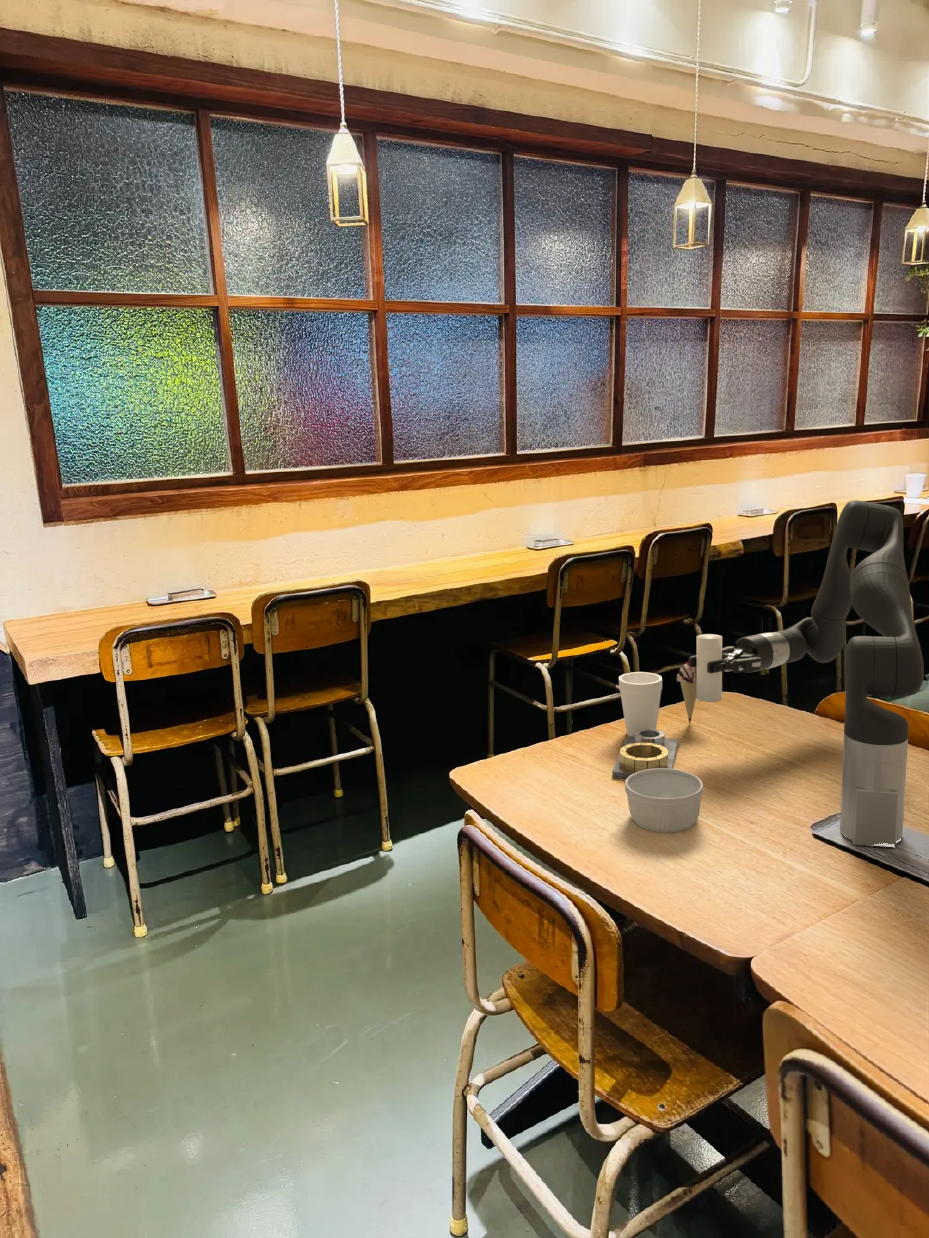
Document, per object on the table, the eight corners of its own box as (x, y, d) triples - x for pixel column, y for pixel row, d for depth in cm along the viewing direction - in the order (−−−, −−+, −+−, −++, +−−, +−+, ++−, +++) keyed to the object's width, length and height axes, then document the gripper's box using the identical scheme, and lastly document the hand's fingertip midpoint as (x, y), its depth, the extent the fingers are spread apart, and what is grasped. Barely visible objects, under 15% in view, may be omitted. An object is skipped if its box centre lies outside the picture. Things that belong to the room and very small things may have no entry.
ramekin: (618, 831, 144) (617, 794, 143) (633, 799, 156) (632, 764, 155) (698, 841, 139) (698, 802, 138) (707, 807, 151) (707, 771, 150)
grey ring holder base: (669, 781, 163) (669, 763, 162) (612, 777, 166) (612, 759, 165) (678, 744, 181) (678, 727, 180) (626, 741, 185) (626, 725, 184)
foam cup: (631, 724, 195) (630, 670, 192) (669, 730, 189) (668, 674, 187) (612, 737, 187) (611, 681, 184) (651, 744, 182) (651, 686, 179)
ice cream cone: (671, 722, 194) (671, 660, 191) (691, 718, 196) (691, 656, 193) (688, 730, 189) (687, 665, 185) (708, 725, 191) (708, 661, 188)
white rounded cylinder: (721, 702, 170) (721, 640, 168) (695, 701, 172) (695, 639, 169) (722, 695, 175) (722, 634, 172) (697, 694, 176) (697, 633, 174)
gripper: (736, 628, 183) (675, 640, 176) (788, 640, 171) (724, 654, 164) (736, 662, 185) (675, 675, 178) (787, 676, 172) (724, 691, 165)
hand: (699, 665), depth 171 cm, fingers closed on white rounded cylinder, 5 cm apart
